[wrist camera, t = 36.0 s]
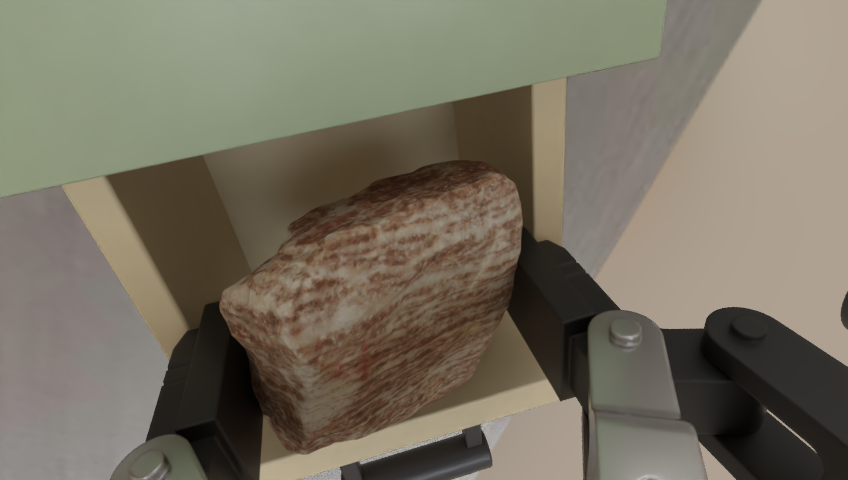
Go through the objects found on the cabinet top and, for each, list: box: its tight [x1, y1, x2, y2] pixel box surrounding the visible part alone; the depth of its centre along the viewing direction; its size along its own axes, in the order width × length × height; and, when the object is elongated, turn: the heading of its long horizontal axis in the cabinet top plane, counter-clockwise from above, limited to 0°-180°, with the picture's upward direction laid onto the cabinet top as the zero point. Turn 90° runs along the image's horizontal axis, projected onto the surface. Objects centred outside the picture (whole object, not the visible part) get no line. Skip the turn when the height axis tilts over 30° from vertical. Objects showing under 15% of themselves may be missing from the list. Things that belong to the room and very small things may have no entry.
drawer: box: [61, 77, 567, 480], centre depth 15 cm, size 19×11×8 cm, turn 8°
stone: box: [219, 160, 523, 455], centre depth 11 cm, size 7×6×5 cm
